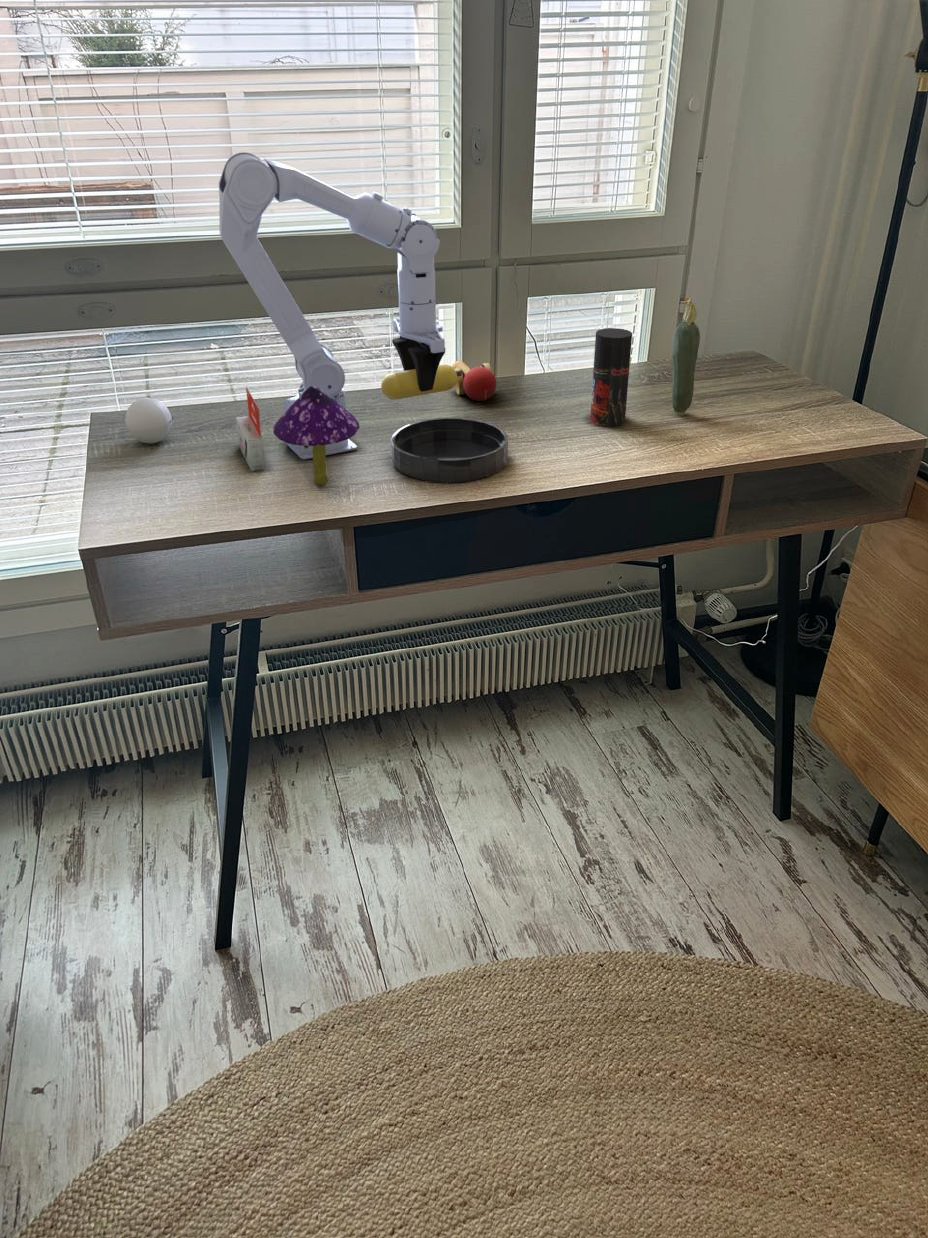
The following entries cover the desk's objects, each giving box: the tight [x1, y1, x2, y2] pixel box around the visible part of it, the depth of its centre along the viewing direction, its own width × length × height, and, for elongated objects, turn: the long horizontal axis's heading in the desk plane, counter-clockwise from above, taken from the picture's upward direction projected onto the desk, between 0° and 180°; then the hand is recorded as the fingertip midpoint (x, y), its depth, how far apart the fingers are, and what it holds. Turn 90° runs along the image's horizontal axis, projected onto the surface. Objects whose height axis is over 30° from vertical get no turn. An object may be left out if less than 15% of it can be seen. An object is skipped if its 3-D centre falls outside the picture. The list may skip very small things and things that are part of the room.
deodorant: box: [589, 327, 633, 428], centre depth 161 cm, size 6×6×15 cm
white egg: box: [124, 397, 174, 445], centre depth 157 cm, size 10×7×7 cm
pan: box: [390, 417, 509, 484], centre depth 149 cm, size 18×18×4 cm
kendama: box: [451, 360, 497, 402], centre depth 178 cm, size 8×6×18 cm
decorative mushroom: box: [272, 386, 361, 486], centre depth 139 cm, size 12×12×15 cm
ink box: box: [235, 387, 266, 472], centre depth 149 cm, size 2×11×10 cm, turn 21°
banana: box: [380, 364, 462, 401], centre depth 155 cm, size 14×4×4 cm, turn 118°
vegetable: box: [671, 296, 701, 416], centre depth 161 cm, size 4×4×20 cm
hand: (419, 386), depth 155 cm, fingers closed on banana, 4 cm apart
